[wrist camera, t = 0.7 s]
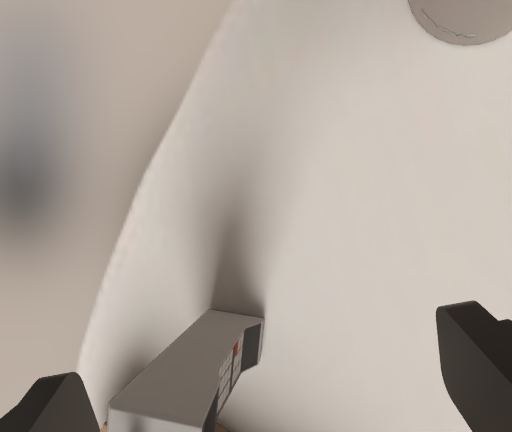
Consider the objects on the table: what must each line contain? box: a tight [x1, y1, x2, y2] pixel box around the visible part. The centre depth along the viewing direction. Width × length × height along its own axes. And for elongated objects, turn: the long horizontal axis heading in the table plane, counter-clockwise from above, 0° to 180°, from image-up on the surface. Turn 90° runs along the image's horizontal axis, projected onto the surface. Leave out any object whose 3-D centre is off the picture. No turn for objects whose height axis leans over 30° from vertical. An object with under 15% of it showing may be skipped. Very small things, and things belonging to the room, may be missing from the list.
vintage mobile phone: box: [107, 309, 264, 432], centre depth 25 cm, size 4×5×25 cm
